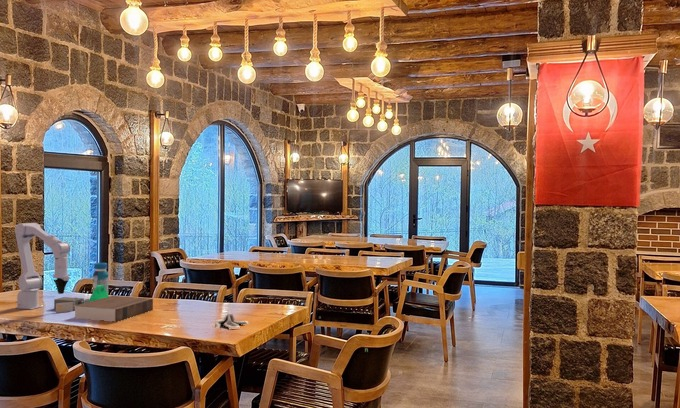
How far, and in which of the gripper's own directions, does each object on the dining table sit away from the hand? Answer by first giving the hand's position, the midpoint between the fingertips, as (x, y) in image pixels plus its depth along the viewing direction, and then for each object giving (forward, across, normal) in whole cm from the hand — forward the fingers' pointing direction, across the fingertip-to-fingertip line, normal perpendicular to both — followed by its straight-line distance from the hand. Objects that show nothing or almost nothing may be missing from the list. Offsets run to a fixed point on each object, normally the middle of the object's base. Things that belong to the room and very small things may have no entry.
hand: (60, 293), depth 279 cm
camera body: (+9, +4, -6) cm, 12 cm away
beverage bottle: (+9, +21, -30) cm, 37 cm away
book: (+10, -25, -16) cm, 31 cm away
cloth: (+10, -84, -41) cm, 94 cm away
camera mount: (+10, +3, -23) cm, 25 cm away
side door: (+9, -2, -1) cm, 9 cm away
